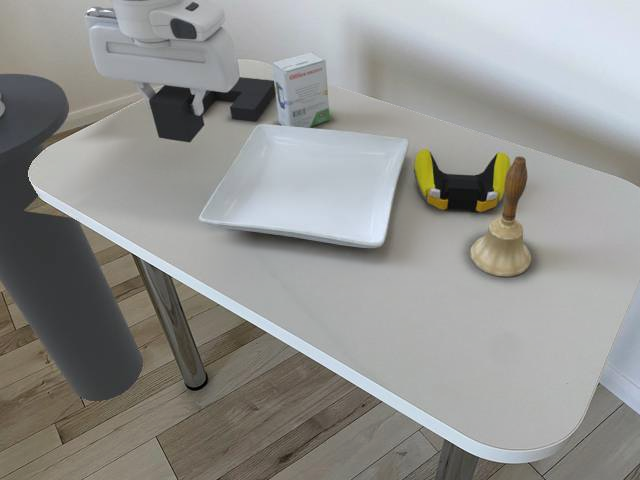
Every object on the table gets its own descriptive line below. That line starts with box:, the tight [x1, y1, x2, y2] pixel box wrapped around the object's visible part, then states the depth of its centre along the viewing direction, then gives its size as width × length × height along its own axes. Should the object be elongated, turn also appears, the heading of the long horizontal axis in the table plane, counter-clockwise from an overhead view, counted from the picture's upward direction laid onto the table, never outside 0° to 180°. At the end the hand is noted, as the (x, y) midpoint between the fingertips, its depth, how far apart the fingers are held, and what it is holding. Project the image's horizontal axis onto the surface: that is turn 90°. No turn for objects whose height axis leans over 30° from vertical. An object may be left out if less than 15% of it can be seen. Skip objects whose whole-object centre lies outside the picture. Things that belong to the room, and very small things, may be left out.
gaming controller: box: [413, 148, 512, 213], centre depth 86 cm, size 15×6×10 cm
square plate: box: [198, 123, 410, 249], centre depth 87 cm, size 27×27×4 cm
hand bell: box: [469, 156, 532, 278], centre depth 72 cm, size 8×8×16 cm
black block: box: [149, 85, 205, 144], centre depth 80 cm, size 5×5×6 cm
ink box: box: [271, 52, 330, 128], centre depth 100 cm, size 9×5×12 cm, turn 123°
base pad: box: [202, 76, 276, 122], centre depth 110 cm, size 16×12×2 cm
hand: (177, 110), depth 80 cm, fingers closed on black block, 5 cm apart
